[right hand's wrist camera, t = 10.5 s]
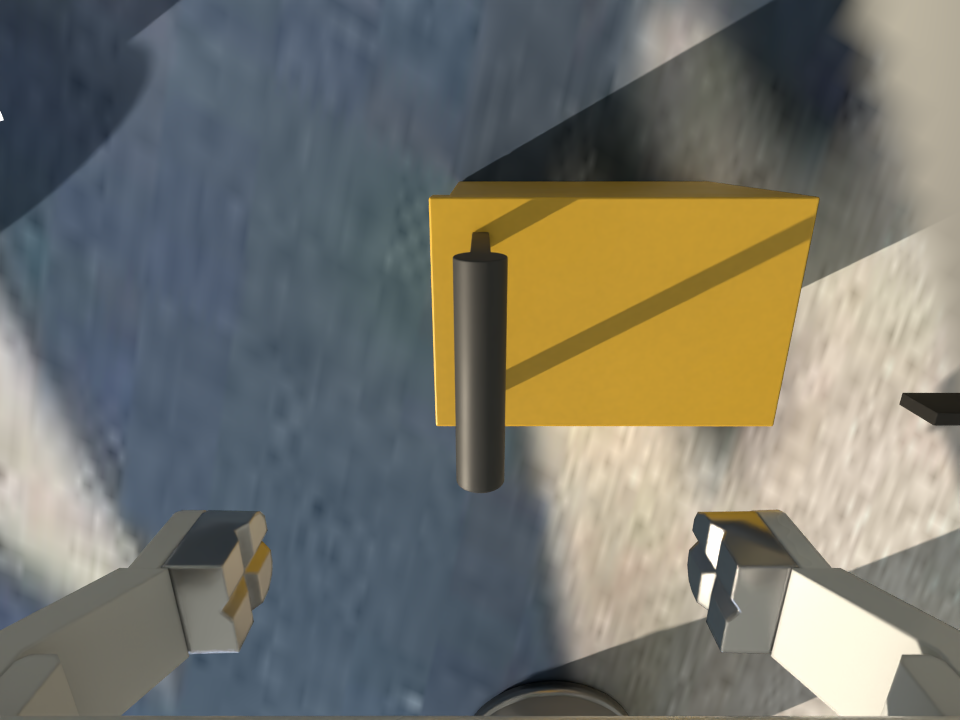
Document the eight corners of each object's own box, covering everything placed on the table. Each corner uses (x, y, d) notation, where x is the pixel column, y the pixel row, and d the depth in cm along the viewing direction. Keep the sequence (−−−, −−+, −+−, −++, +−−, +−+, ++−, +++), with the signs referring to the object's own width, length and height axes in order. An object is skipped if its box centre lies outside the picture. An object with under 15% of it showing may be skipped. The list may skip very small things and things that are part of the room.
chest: (460, 344, 37) (453, 414, 27) (458, 181, 34) (448, 194, 24) (686, 344, 37) (761, 415, 27) (709, 181, 34) (804, 194, 24)
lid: (437, 415, 27) (419, 523, 19) (431, 194, 24) (405, 217, 16) (761, 415, 27) (876, 524, 19) (805, 194, 24) (967, 217, 16)
